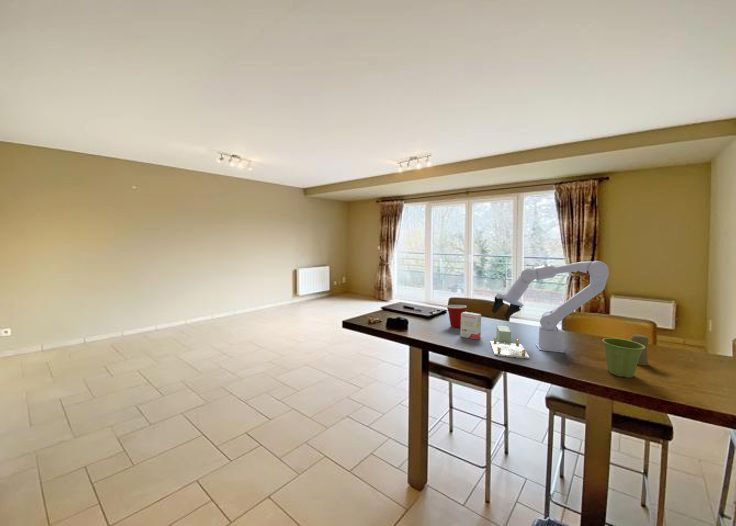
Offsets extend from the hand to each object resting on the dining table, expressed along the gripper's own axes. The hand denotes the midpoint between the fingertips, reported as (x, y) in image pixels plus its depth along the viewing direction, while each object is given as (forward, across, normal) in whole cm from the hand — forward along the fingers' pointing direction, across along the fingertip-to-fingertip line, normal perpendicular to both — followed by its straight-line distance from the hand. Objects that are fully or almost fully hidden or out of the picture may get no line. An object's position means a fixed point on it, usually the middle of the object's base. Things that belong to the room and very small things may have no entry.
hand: (499, 314), depth 148 cm
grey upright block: (-15, -37, +34) cm, 53 cm away
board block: (+10, -7, +4) cm, 13 cm away
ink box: (+17, +5, -1) cm, 18 cm away
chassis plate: (+7, +1, +17) cm, 19 cm away
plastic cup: (+23, +2, -18) cm, 29 cm away
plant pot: (-11, -20, +43) cm, 48 cm away
